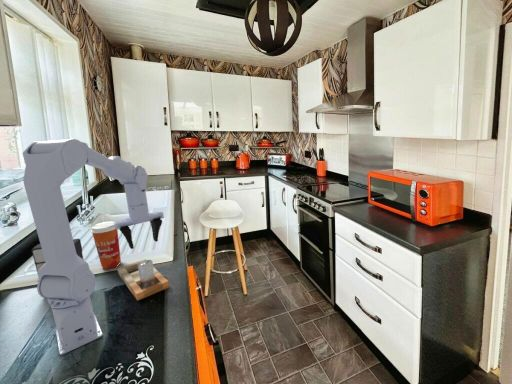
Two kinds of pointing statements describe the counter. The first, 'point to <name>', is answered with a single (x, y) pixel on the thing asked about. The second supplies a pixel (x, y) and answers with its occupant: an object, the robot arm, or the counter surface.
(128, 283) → the wooden slotted board
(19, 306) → the counter surface
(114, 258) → the coffee cup
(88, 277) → the robot arm
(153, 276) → the peg
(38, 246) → the calculator
